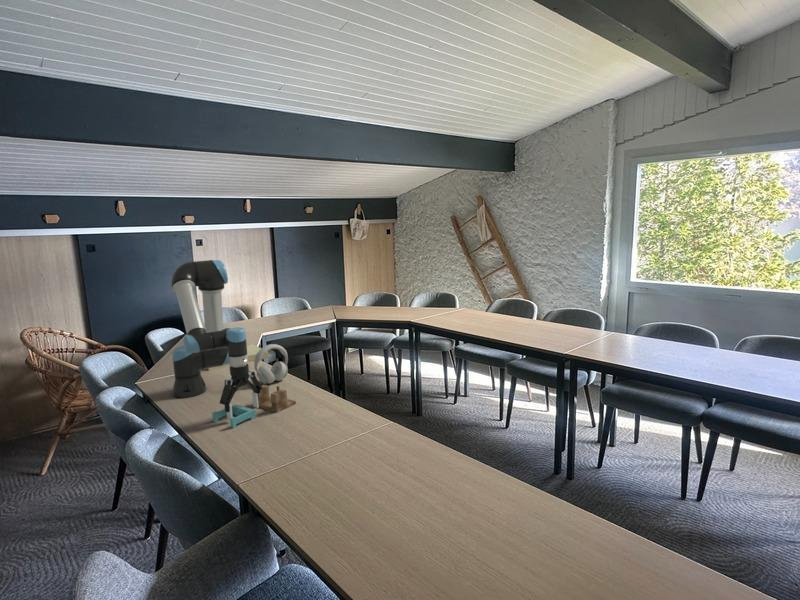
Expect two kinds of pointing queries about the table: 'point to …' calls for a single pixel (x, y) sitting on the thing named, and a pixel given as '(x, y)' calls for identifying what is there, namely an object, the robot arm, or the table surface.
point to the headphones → (277, 369)
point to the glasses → (236, 410)
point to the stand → (274, 399)
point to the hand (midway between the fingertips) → (243, 412)
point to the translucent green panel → (251, 353)
